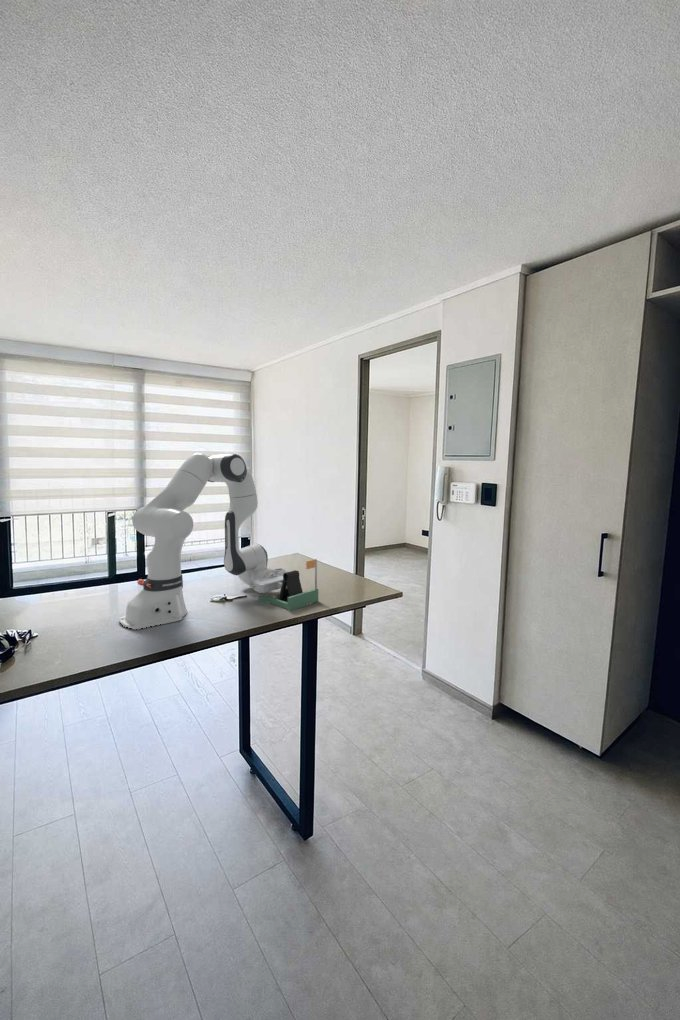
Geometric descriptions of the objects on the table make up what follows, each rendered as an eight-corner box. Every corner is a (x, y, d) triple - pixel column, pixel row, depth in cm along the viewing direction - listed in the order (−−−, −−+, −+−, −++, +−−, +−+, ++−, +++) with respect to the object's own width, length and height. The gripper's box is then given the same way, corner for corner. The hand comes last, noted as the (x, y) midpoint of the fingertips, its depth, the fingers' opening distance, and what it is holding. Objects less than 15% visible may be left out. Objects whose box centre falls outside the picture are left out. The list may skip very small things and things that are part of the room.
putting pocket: (287, 611, 164) (286, 566, 162) (257, 601, 176) (257, 559, 174) (320, 600, 177) (320, 558, 175) (290, 591, 188) (290, 552, 186)
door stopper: (304, 602, 175) (304, 572, 174) (293, 605, 171) (293, 575, 169) (289, 597, 181) (289, 568, 180) (278, 600, 177) (277, 571, 175)
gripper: (246, 577, 177) (268, 584, 167) (285, 567, 192) (308, 573, 183) (246, 592, 177) (269, 600, 168) (285, 582, 192) (308, 588, 183)
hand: (289, 586), depth 175 cm, fingers closed, pressing on door stopper
